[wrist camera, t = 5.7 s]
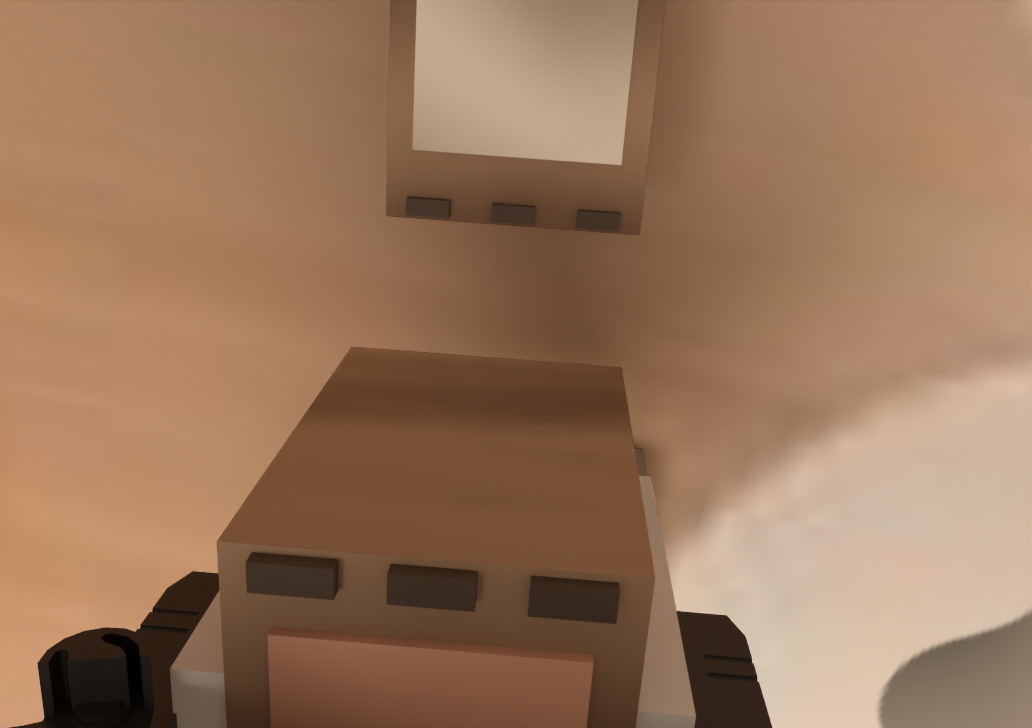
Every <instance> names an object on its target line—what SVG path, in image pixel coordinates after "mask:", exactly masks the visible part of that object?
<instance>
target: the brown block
mask: <svg viewBox="0 0 1032 728" xmlns="http://www.w3.org/2000/svg"><path fill="white" fill-rule="evenodd" d="M217 554H218V573H219V591H220V610H221V629H222V648H223V666H224V685H225V704H226V723H227V728H636V721H637V713H638V705H639V698H640V690H641V683H642V675H643V667H644V660H645V652H646V645H647V637H648V630H649V622H650V614H651V607H652V599H653V592H654V584H655V573H654V567H653V561H652V554H651V548H650V542H649V536H648V529H647V523H646V517H645V511H644V505H643V498H642V492H641V486H640V480H639V473H638V467H637V461H636V455H635V449H634V442H633V436H632V430H631V424H630V418H629V411H628V405H627V399H626V393H625V386H624V380H623V374H622V368H621V367H609V366H596V365H583V364H570V363H557V362H544V361H531V360H518V359H505V358H492V357H479V356H466V355H453V354H440V353H427V352H414V351H401V350H388V349H375V348H362V347H351V348H350V350H349V351H348V353H347V354H346V356H345V357H344V358H343V360H342V361H341V363H340V364H339V366H338V367H337V369H336V370H335V371H334V373H333V374H332V376H331V377H330V379H329V380H328V382H327V383H326V384H325V386H324V387H323V389H322V390H321V392H320V393H319V395H318V396H317V397H316V399H315V400H314V402H313V403H312V405H311V406H310V408H309V409H308V410H307V412H306V413H305V415H304V416H303V418H302V419H301V421H300V422H299V423H298V425H297V426H296V428H295V429H294V431H293V432H292V434H291V435H290V436H289V438H288V439H287V441H286V442H285V444H284V445H283V447H282V448H281V449H280V451H279V452H278V454H277V455H276V457H275V458H274V460H273V461H272V462H271V464H270V465H269V467H268V468H267V470H266V471H265V473H264V474H263V476H262V477H261V478H260V480H259V481H258V483H257V484H256V486H255V487H254V489H253V490H252V491H251V493H250V494H249V496H248V497H247V499H246V500H245V502H244V503H243V504H242V506H241V507H240V509H239V510H238V512H237V513H236V515H235V516H234V517H233V519H232V520H231V522H230V523H229V525H228V526H227V528H226V529H225V530H224V532H223V533H222V535H221V536H220V538H219V539H218V541H217Z"/></svg>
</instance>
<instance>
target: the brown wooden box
mask: <svg viewBox="0 0 1032 728" xmlns="http://www.w3.org/2000/svg"><path fill="white" fill-rule="evenodd" d="M665 3H666V0H391V9H390V57H389V106H388V155H387V203H386V216H392V217H405V218H418V219H431V220H445V221H458V222H471V223H484V224H497V225H510V226H523V227H536V228H549V229H563V230H576V231H589V232H602V233H615V234H628V235H640V228H641V219H642V210H643V201H644V192H645V183H646V174H647V165H648V156H649V147H650V138H651V129H652V120H653V111H654V102H655V93H656V84H657V75H658V66H659V57H660V48H661V39H662V30H663V21H664V12H665Z"/></svg>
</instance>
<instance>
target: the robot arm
mask: <svg viewBox="0 0 1032 728" xmlns="http://www.w3.org/2000/svg"><path fill="white" fill-rule="evenodd" d="M639 480H640V486H641V492H642V498H643V505H644V511H645V517H646V523H647V529H648V536H649V542H650V548H651V554H652V561H653V567H654V573H655V584H654V592H653V599H652V607H651V614H650V622H649V630H648V637H647V645H646V652H645V660H644V667H643V675H642V683H641V690H640V698H639V705H638V713H637V721H636V728H772V725H771V722H770V718H769V715H768V712H767V708H766V705H765V701H764V698H763V695H762V691H761V688H760V684H759V682H757V674H756V671H755V667H754V664H753V663H752V657H751V654H750V650H749V647H748V644H747V640H746V637H745V635H744V634H743V633H742V632H741V631H740V630H739V629H738V628H737V627H736V625H735V624H734V623H733V622H732V621H731V620H730V619H729V618H728V617H727V616H726V615H714V614H703V613H692V612H680V611H676V607H675V601H674V596H673V591H672V585H671V580H670V575H669V569H668V564H667V559H666V553H665V548H664V543H663V537H662V532H661V527H660V521H659V516H658V510H657V505H656V500H655V494H654V489H653V484H652V478H651V476H639ZM38 670H39V678H40V686H41V693H42V701H43V709H44V720H43V721H41V722H38V723H33V724H29V725H24V726H18V727H11V728H227V723H226V704H225V685H224V666H223V648H222V629H221V610H220V591H219V574H218V573H206V572H195V571H193V572H191V573H190V574H188V575H187V576H185V577H184V578H182V579H181V580H179V581H177V582H176V583H174V584H173V585H171V586H170V587H168V588H167V589H166V591H165V592H164V593H163V595H162V596H161V598H160V599H159V600H158V602H157V603H156V604H155V606H154V607H153V611H152V612H150V613H149V614H148V615H147V617H146V618H145V620H144V621H143V622H142V624H141V627H140V629H137V631H136V632H133V631H131V630H128V629H124V628H100V629H94V630H88V631H83V632H81V633H78V634H75V635H73V636H70V637H68V638H65V639H63V640H62V641H60V642H59V643H57V644H56V645H54V646H53V647H51V648H50V649H48V650H47V651H46V653H45V654H44V655H43V657H42V658H41V659H40V661H39V662H38Z"/></svg>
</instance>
